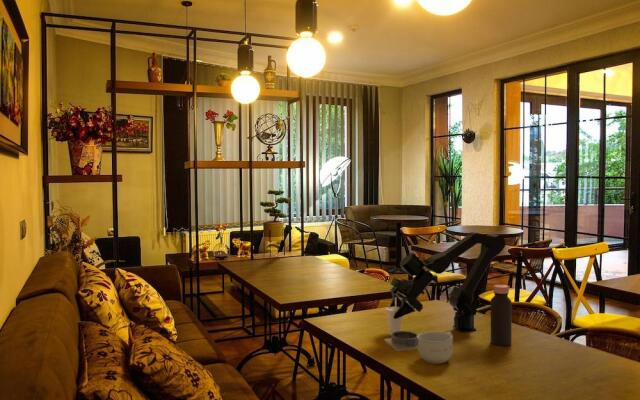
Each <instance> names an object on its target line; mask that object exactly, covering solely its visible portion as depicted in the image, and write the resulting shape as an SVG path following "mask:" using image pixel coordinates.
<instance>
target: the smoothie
mask: <svg viewBox="0 0 640 400" xmlns="http://www.w3.org/2000/svg"><path fill="white" fill-rule="evenodd" d="M399 308H400V307H397V297H395V307H390V306H388V307H386V308H385V312H386V316H387V323H388V331H389V335H390V336H391V335H392V333H394V332H397V331H401V327H402V317H403V316H402V317H399V318H397V319H394V318H393V316H394V315H395V313H396V312H397V310H398V309H399Z"/></svg>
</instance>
